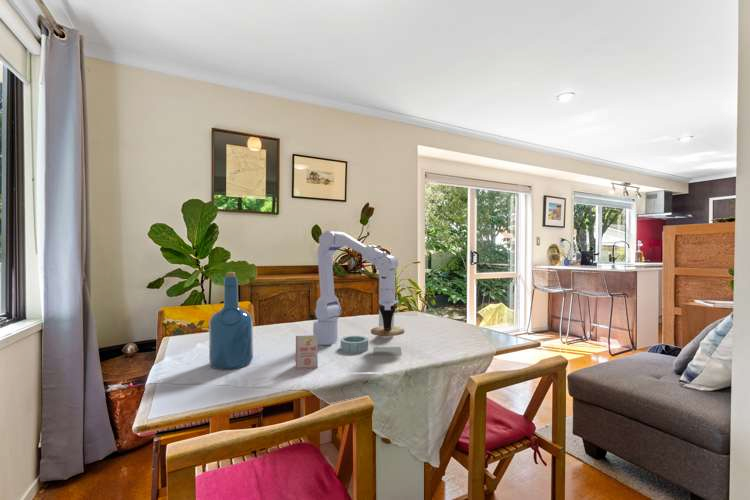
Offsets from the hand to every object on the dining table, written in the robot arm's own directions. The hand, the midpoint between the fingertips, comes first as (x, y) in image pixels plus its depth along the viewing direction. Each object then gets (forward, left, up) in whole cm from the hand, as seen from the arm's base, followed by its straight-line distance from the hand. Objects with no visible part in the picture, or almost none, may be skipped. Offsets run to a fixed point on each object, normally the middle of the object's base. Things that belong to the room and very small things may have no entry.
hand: (387, 326), depth 132 cm
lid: (0, 0, -2) cm, 2 cm away
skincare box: (0, +21, -10) cm, 23 cm away
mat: (0, 0, -9) cm, 9 cm away
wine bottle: (-51, -13, -10) cm, 53 cm away
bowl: (-12, +3, -9) cm, 16 cm away
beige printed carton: (-26, -15, -10) cm, 32 cm away
